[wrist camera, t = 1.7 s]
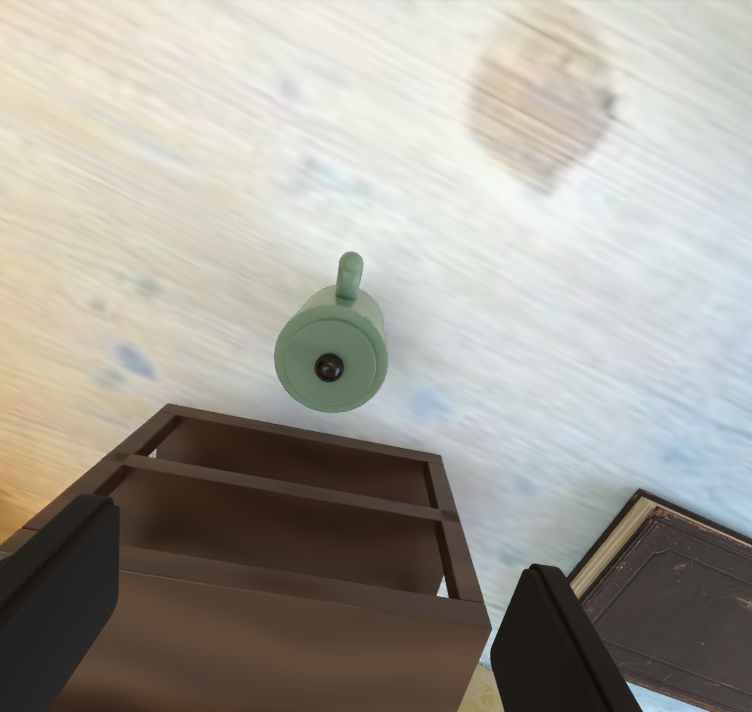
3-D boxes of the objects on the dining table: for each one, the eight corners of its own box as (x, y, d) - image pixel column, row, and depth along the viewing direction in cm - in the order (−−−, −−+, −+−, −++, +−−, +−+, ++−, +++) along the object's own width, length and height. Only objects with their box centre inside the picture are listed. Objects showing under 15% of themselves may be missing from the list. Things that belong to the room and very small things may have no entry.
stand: (167, 403, 27) (-45, 581, 14) (440, 455, 29) (504, 664, 15) (160, 517, 30) (-19, 759, 16) (408, 559, 32) (436, 814, 18)
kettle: (313, 237, 24) (282, 240, 16) (401, 257, 24) (415, 270, 16) (293, 358, 26) (258, 415, 18) (374, 374, 27) (374, 437, 19)
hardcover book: (639, 488, 30) (660, 508, 28) (858, 586, 33) (892, 611, 31) (526, 627, 34) (537, 654, 32) (729, 702, 37) (751, 731, 35)
